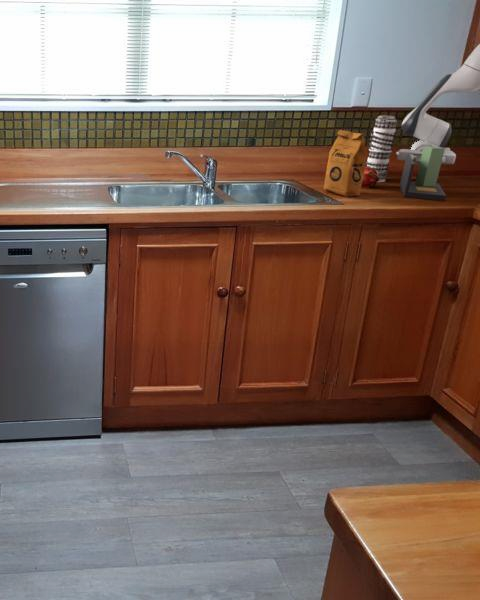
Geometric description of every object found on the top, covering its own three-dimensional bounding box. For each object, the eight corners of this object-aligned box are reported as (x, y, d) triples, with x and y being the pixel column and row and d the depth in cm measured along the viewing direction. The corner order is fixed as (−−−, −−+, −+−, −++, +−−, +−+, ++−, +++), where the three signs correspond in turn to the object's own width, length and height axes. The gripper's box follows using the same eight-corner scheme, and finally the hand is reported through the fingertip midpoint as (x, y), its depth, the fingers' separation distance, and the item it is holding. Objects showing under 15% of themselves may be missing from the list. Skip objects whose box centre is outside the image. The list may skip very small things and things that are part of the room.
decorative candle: (391, 182, 243) (405, 117, 233) (370, 182, 242) (383, 117, 232) (377, 177, 251) (390, 114, 242) (357, 177, 250) (369, 114, 240)
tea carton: (427, 183, 232) (436, 146, 227) (435, 186, 227) (444, 148, 222) (415, 183, 232) (423, 146, 226) (423, 186, 227) (432, 148, 222)
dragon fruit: (350, 186, 242) (374, 197, 232) (341, 175, 236) (365, 186, 227) (365, 168, 240) (389, 179, 231) (356, 157, 235) (380, 167, 226)
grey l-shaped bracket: (437, 188, 233) (445, 157, 228) (444, 201, 214) (453, 166, 209) (399, 185, 237) (406, 154, 233) (403, 197, 219) (411, 163, 214)
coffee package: (342, 198, 215) (354, 134, 207) (318, 190, 226) (329, 129, 218) (364, 196, 219) (377, 133, 210) (339, 189, 229) (351, 129, 221)
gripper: (397, 144, 248) (399, 149, 237) (454, 148, 241) (459, 153, 230) (394, 160, 251) (396, 165, 239) (450, 164, 244) (455, 170, 232)
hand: (427, 159), depth 234 cm, fingers open, 8 cm apart
